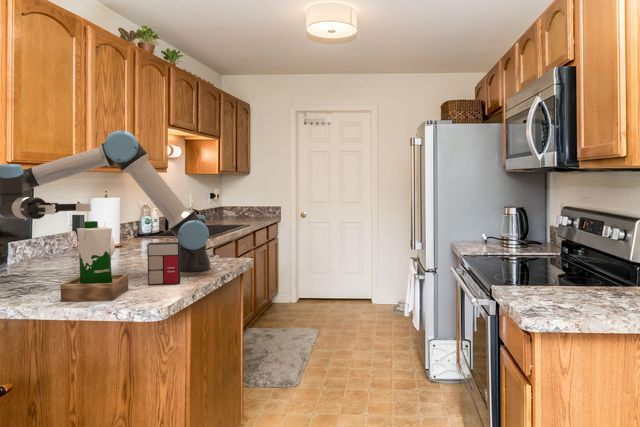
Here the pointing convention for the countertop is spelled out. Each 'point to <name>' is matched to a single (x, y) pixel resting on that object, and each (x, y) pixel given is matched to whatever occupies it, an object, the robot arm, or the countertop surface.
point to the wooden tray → (94, 289)
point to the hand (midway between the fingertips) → (72, 208)
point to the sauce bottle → (112, 244)
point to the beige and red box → (163, 263)
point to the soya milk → (94, 253)
